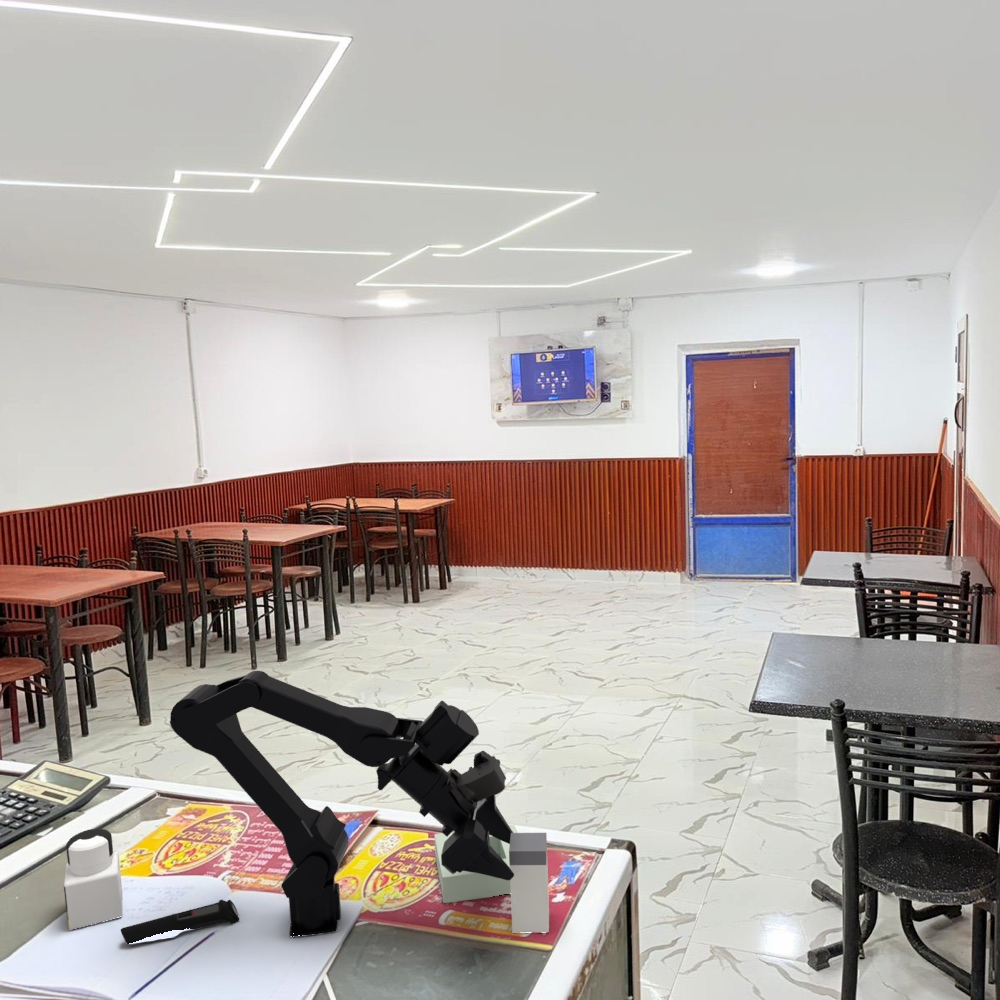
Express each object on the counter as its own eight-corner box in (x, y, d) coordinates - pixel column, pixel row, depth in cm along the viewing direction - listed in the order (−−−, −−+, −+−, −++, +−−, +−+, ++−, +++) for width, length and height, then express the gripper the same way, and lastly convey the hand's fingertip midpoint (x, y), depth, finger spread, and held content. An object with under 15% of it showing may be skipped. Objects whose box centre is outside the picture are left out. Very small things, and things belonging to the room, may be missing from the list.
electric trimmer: (122, 941, 123) (120, 920, 123) (237, 910, 129) (235, 890, 129) (122, 957, 120) (120, 935, 119) (240, 924, 126) (238, 904, 125)
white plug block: (512, 933, 120) (509, 851, 119) (514, 912, 125) (510, 832, 124) (548, 934, 120) (546, 851, 119) (549, 912, 125) (546, 832, 124)
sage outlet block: (443, 903, 128) (442, 877, 128) (435, 857, 141) (434, 833, 141) (531, 891, 130) (530, 866, 130) (515, 847, 143) (514, 824, 143)
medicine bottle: (70, 906, 132) (62, 830, 130) (122, 893, 134) (115, 819, 133) (68, 932, 125) (59, 852, 124) (122, 918, 128) (115, 840, 126)
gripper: (461, 774, 111) (552, 855, 111) (475, 719, 129) (553, 789, 130) (403, 834, 112) (494, 914, 113) (425, 771, 131) (502, 840, 131)
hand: (513, 859), depth 122 cm, fingers open, 9 cm apart
